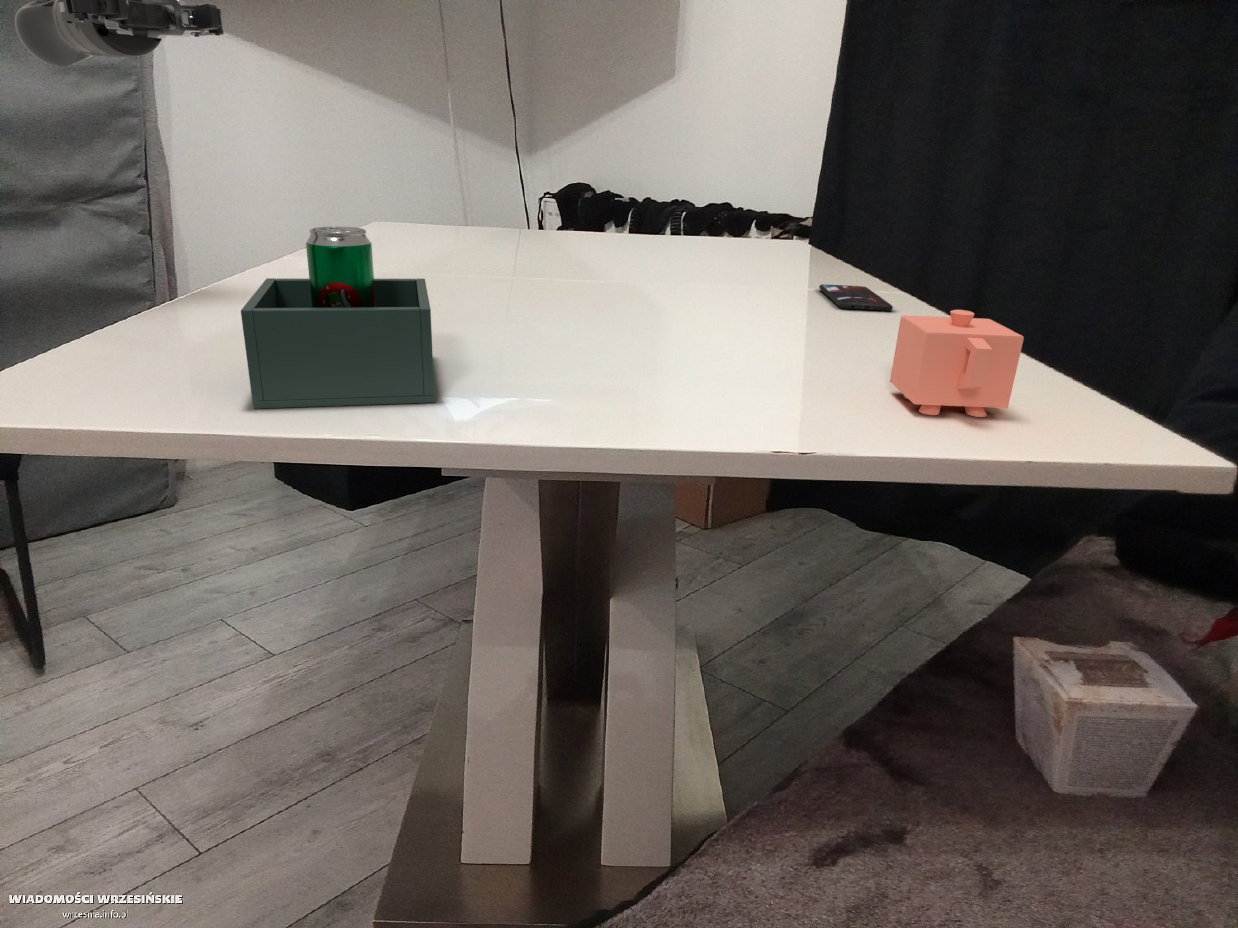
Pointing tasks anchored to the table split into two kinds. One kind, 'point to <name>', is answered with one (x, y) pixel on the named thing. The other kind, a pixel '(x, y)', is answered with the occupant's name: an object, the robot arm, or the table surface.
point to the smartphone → (855, 297)
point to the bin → (338, 347)
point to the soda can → (340, 268)
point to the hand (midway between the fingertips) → (170, 11)
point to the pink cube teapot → (955, 362)
